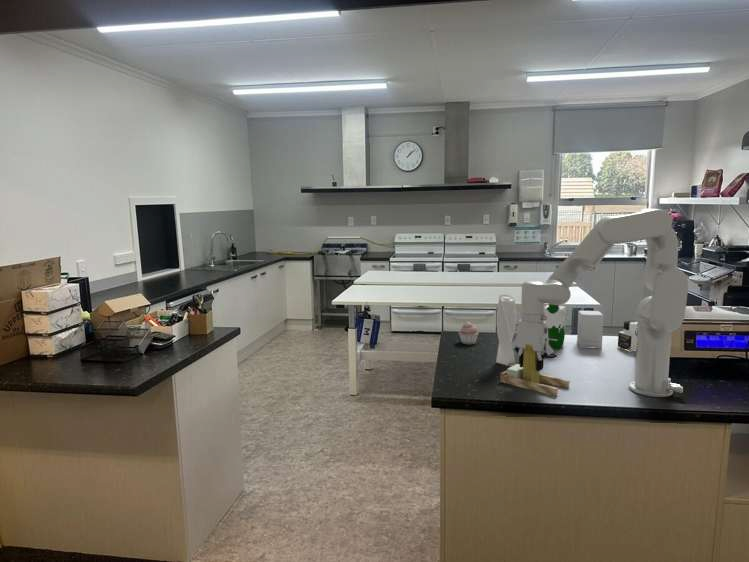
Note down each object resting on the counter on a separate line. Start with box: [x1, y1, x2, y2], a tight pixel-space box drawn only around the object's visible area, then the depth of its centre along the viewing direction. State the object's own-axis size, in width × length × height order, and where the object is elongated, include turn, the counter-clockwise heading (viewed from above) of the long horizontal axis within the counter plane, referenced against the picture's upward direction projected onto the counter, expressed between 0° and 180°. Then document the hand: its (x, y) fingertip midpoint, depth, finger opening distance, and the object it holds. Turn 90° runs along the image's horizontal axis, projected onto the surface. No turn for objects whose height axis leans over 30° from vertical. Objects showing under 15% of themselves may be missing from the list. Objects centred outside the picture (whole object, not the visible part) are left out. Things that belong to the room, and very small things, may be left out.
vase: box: [522, 344, 541, 384], centre depth 168 cm, size 6×6×14 cm
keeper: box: [506, 364, 523, 379], centre depth 173 cm, size 4×7×4 cm, turn 136°
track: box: [499, 369, 571, 397], centre depth 168 cm, size 20×10×3 cm, turn 46°
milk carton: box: [544, 304, 566, 351], centre depth 212 cm, size 9×9×20 cm
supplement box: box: [576, 310, 604, 349], centre depth 213 cm, size 9×9×15 cm
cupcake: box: [458, 321, 480, 345], centre depth 222 cm, size 9×9×10 cm
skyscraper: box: [495, 294, 519, 368], centre depth 190 cm, size 8×8×28 cm
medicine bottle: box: [617, 320, 638, 352], centre depth 208 cm, size 7×7×12 cm
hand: (530, 367), depth 169 cm, fingers closed on vase, 5 cm apart
